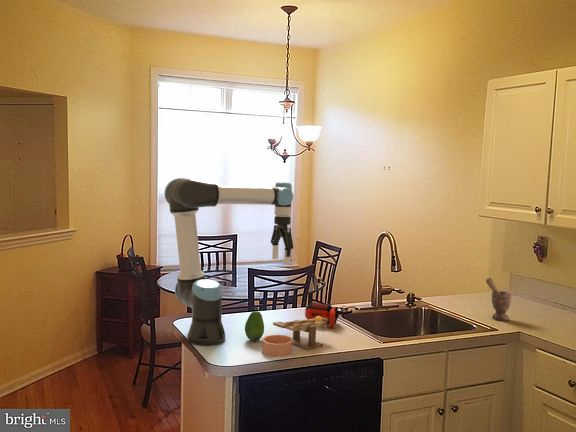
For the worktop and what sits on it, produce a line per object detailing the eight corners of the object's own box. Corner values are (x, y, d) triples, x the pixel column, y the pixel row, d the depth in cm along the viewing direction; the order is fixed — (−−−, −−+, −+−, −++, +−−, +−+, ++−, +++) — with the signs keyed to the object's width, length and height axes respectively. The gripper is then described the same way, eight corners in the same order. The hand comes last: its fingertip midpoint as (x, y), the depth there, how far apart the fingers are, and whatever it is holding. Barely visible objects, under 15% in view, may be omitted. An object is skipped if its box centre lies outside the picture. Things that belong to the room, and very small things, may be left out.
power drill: (310, 298, 250) (341, 302, 245) (310, 317, 251) (341, 320, 246) (300, 308, 236) (333, 312, 231) (300, 327, 237) (333, 331, 232)
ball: (317, 324, 214) (319, 316, 215) (312, 322, 217) (313, 314, 217) (323, 325, 216) (324, 317, 217) (317, 323, 219) (319, 315, 219)
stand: (307, 350, 205) (308, 328, 204) (285, 341, 214) (286, 321, 214) (322, 346, 210) (323, 325, 209) (300, 338, 220) (300, 318, 219)
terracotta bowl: (275, 358, 195) (275, 346, 195) (255, 350, 204) (256, 338, 203) (298, 352, 203) (299, 340, 202) (278, 344, 211) (279, 333, 211)
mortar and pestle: (494, 322, 250) (496, 280, 249) (481, 317, 258) (483, 277, 257) (513, 320, 254) (516, 279, 253) (500, 316, 262) (502, 276, 261)
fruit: (268, 340, 216) (268, 311, 215) (254, 344, 210) (254, 314, 209) (254, 336, 221) (255, 307, 220) (240, 340, 215) (240, 311, 214)
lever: (292, 334, 203) (294, 323, 203) (272, 327, 212) (273, 316, 212) (327, 330, 216) (328, 319, 216) (307, 323, 225) (307, 313, 225)
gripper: (302, 218, 236) (300, 265, 238) (279, 213, 259) (277, 257, 260) (286, 218, 233) (284, 266, 235) (264, 213, 256) (263, 257, 257)
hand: (281, 261), depth 247 cm, fingers open, 13 cm apart
